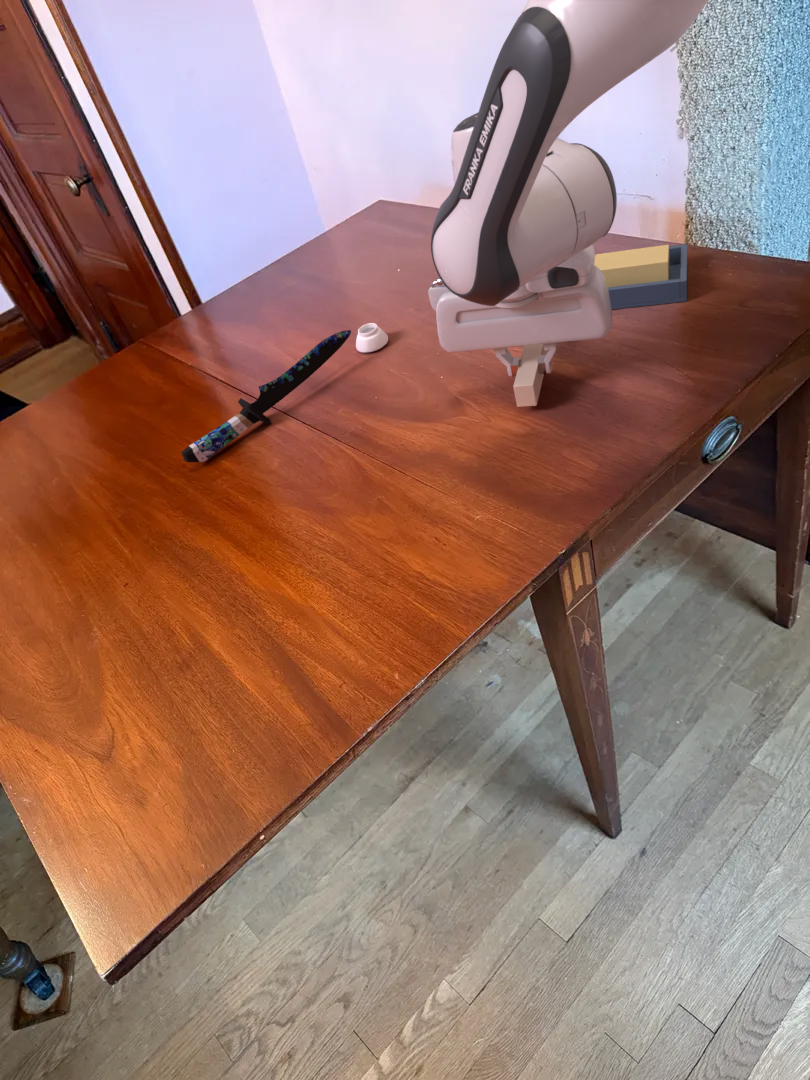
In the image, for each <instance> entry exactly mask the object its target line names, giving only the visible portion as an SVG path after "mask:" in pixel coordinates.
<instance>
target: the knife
mask: <svg viewBox="0 0 810 1080" xmlns="http://www.w3.org/2000/svg"><path fill="white" fill-rule="evenodd" d="M351 335H352V330H351V329H348V330H347V329H346V330H341V331H339V332H335V333H334V334H332V335H329V336H328V337H326V338H324V339H323V340H322V341H320V342H319V343H317V344H316V345H315V346H314V347H313V348H311V350H309V351H308V352H307V353H306V354H305V355H303V357H301V358H300V359H299V360H298V361H297V362H295V364H293V365H292V366H291V367H290V368H288V369H287V370H286V371H284V373H282V374H281V375H280V376H278V377H276V378H275V379H272V380H271V381H269V382H267V383H264V384H262V385H259V386H258V390H259V396H258V398H257V399H256V400H255V401H253V402H248V401H247V400H245V399H243V398H242V397H240V398H239V399H238V401H237V403H238V405H240V406H241V408H242V409H240V411H239V412H238V414H236V415H234V416H233V417H231V418H230V419H228V420H227V421H225V422H224V423H222V424H221V425H219V426H218V427H216V428H215V429H213V430H211V431H210V432H208V433H207V434H205V435H203V436H202V437H200V438H199V439H197V440H196V441H194V442H193V443H191V444H189V445H188V446H187V447H186V448H185V449H182V451H181V452H180V454H181V456H182V458H183V460H184V462H186V463H204V462H207V461H208V460H209V459H210V458H212V457H213V456H214V455H216V454H217V453H218V452H219V451H221V450H222V449H224V448H225V447H226V446H227V445H228V444H229V443H231V442H232V441H234V440H235V439H236V438H238V437H239V436H240V435H242V434H243V433H244V432H246V431H247V430H248V429H249V428H251V427H252V426H253V425H254V424H256V423H258V422H262V423H264V424H268V425H270V424H271V423H272V420H271V419H270V418H269V417H267V416H266V415H265V413H267V411H269V410H270V409H271V408H273V407H274V406H275V405H276V404H278V403H279V402H281V401H282V400H283V399H285V398H286V397H287V396H288V395H289V394H290V393H291V392H293V391H294V390H295V389H298V387H299V386H300V385H302V384H303V383H304V382H305V381H306V380H308V379H309V378H310V377H311V376H312V375H313V374H314V373H316V372H317V371H318V370H319V369H320V368H321V367H322V366H323V365H324V364H325V363H326V362H327V361H328V360H329V359H331V357H333V356H334V355H335V353H336V352H338V350H340V348H341V347H343V345H344V344H345V342H346V341H347V340H348V339H349V337H351Z"/></svg>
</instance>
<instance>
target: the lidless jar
mask: <svg viewBox="0 0 810 1080" xmlns="http://www.w3.org/2000/svg"><path fill="white" fill-rule="evenodd" d="M388 341H389V336H388V334H387V333H386V332H385V331H384V330H383V329H382V328H381V327H379V326H378V324H377V323H375V322H369V323H368V322H367V323H365V324H363V325H361V326H360V327H358V329H357V335H356V340H355V348H356V350H357V351H358V352H359V353H372V352H375V351H378V350H380V349H382V348H383V347H385V345H387V344H388Z"/></svg>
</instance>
